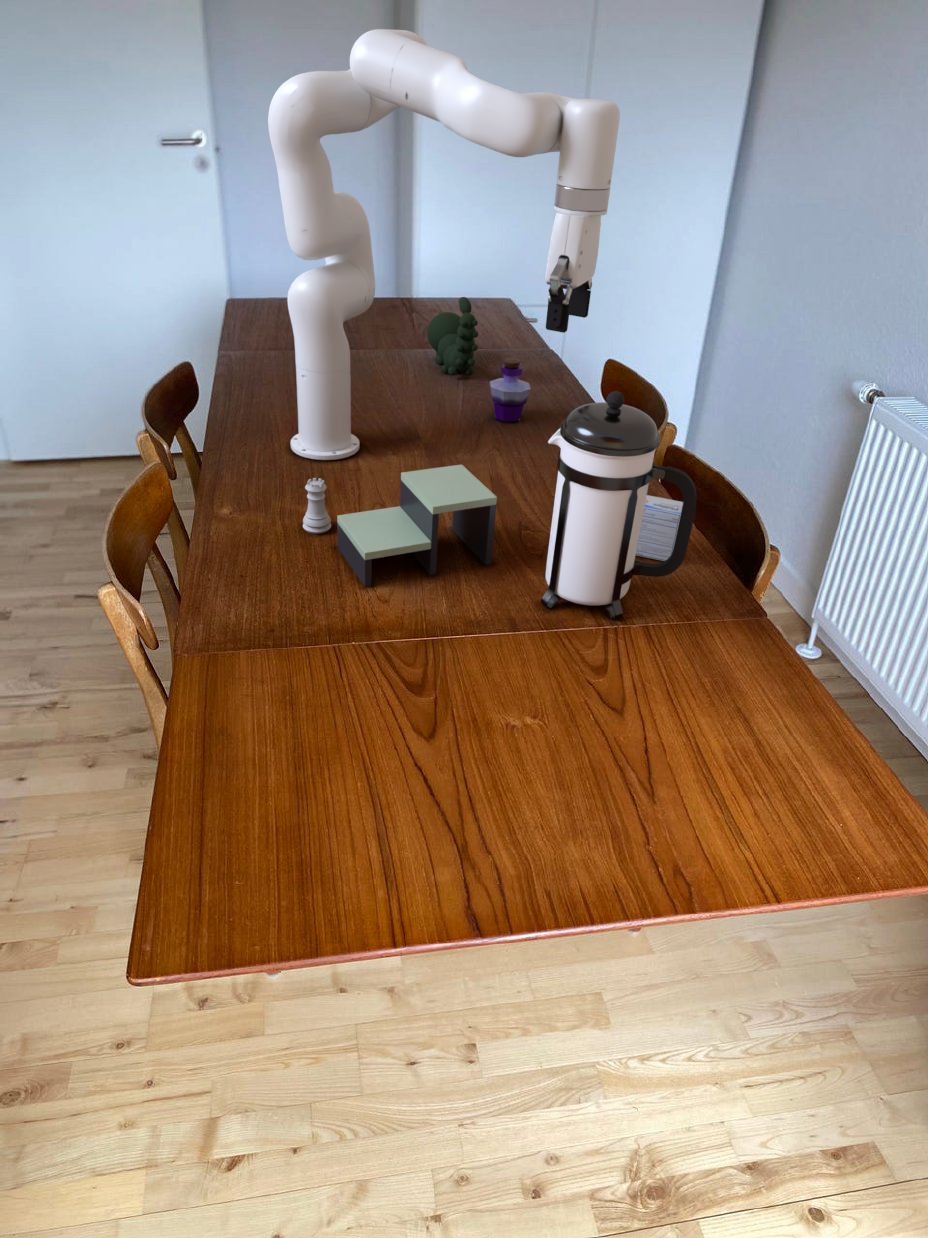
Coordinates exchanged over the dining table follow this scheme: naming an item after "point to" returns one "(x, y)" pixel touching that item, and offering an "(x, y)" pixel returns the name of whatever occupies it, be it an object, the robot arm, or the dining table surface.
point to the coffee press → (607, 505)
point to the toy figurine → (454, 339)
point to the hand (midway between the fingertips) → (566, 322)
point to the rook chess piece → (316, 508)
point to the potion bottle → (509, 392)
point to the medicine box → (658, 528)
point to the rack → (421, 520)
